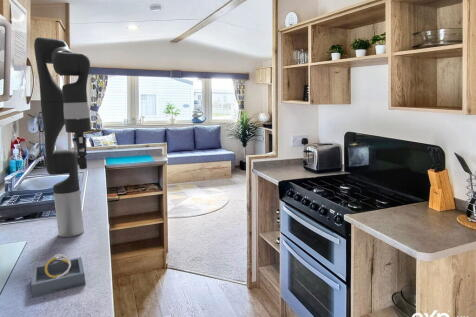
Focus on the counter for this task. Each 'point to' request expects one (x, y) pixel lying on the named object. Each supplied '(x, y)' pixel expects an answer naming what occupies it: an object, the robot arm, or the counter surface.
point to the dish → (47, 285)
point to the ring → (57, 259)
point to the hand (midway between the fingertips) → (82, 166)
